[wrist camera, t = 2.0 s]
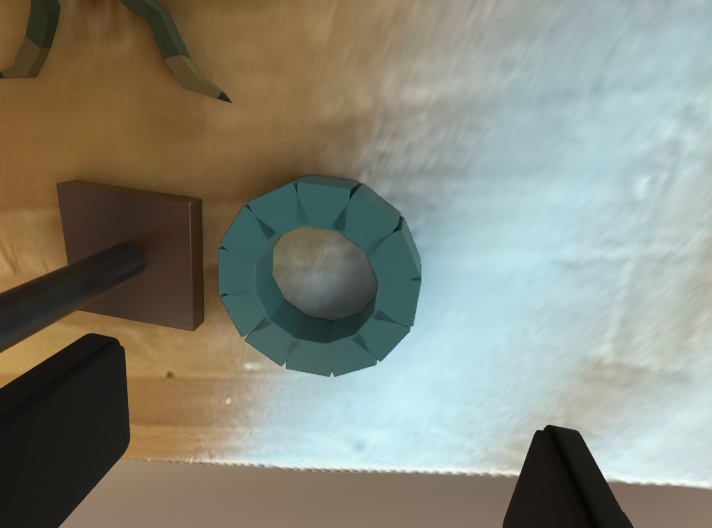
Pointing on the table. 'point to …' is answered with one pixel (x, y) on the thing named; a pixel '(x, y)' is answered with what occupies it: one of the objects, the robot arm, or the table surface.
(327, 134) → the table surface
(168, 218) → the stand
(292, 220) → the ring
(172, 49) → the octopus toy
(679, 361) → the table surface
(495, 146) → the table surface
